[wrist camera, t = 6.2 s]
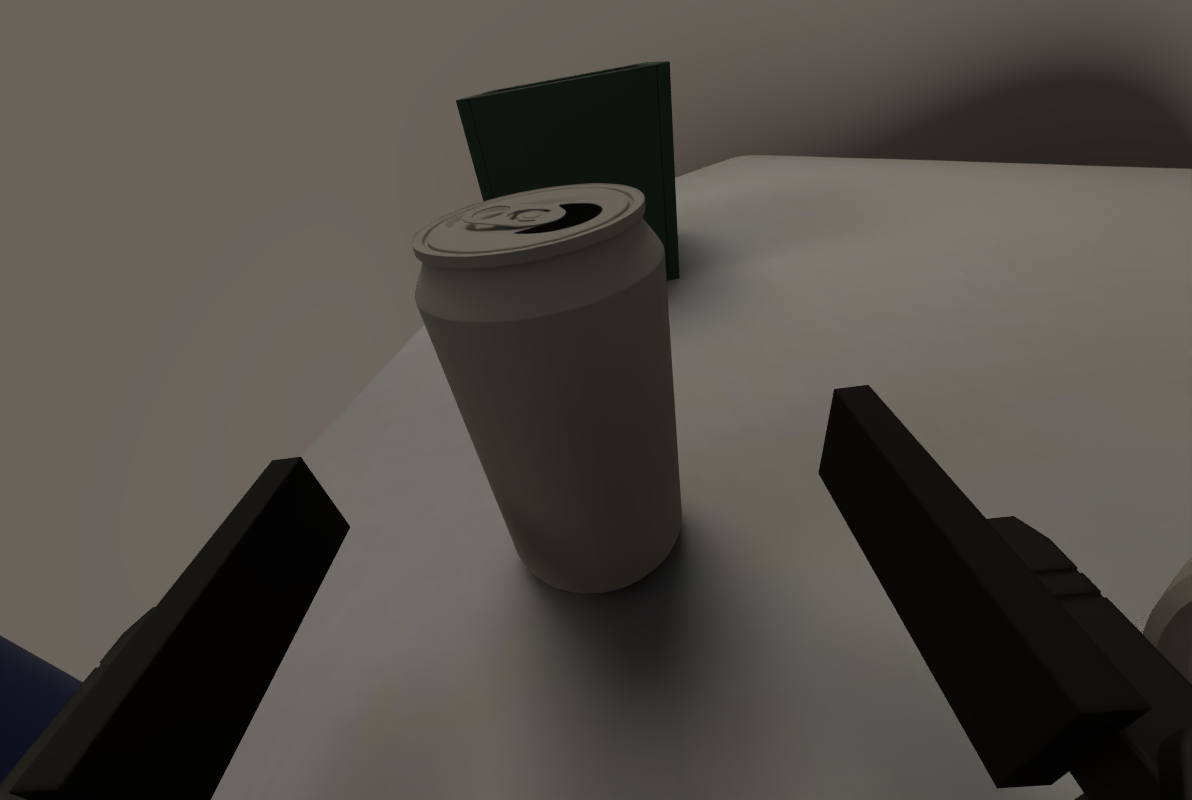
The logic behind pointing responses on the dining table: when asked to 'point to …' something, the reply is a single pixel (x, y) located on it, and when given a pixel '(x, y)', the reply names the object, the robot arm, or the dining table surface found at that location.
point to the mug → (1174, 623)
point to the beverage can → (562, 374)
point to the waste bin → (581, 139)
